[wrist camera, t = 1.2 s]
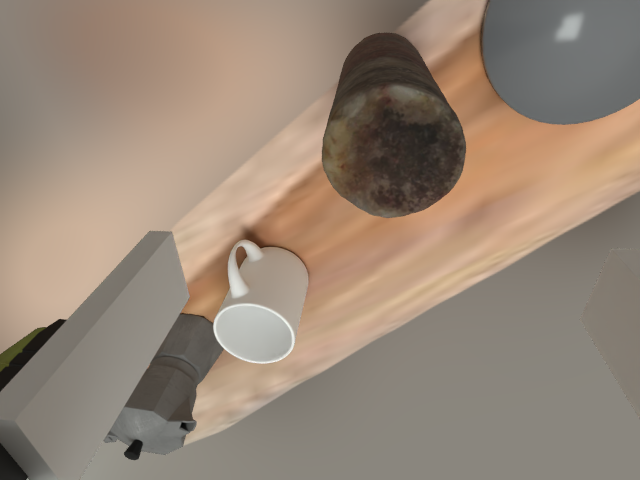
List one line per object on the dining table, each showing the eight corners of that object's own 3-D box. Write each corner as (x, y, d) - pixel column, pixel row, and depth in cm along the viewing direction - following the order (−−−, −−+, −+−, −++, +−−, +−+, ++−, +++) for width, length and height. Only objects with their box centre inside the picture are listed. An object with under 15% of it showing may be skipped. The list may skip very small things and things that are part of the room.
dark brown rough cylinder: (435, 101, 36) (484, 197, 20) (362, 133, 39) (349, 243, 22) (407, 15, 33) (437, 43, 16) (328, 56, 36) (284, 117, 19)
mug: (281, 211, 45) (257, 267, 36) (320, 291, 50) (307, 356, 41) (217, 231, 47) (179, 288, 38) (260, 304, 53) (237, 369, 44)
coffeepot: (220, 304, 54) (158, 427, 39) (247, 351, 58) (202, 478, 43) (128, 321, 58) (40, 438, 43) (160, 364, 62) (91, 484, 47)
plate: (501, -101, 29) (505, -104, 28) (751, -121, 26) (766, -126, 25) (467, 122, 37) (469, 125, 36) (655, 119, 35) (663, 123, 34)
